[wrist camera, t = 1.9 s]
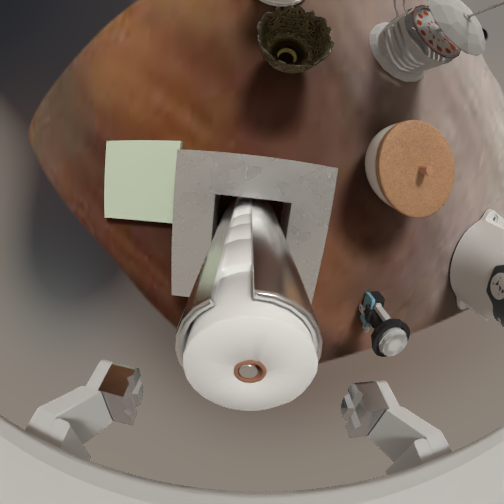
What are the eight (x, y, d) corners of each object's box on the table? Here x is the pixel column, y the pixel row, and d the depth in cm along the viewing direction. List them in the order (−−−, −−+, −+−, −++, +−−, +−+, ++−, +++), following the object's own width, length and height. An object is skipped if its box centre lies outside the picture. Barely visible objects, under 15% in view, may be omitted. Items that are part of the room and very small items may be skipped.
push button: (377, 325, 40) (402, 365, 30) (347, 327, 40) (368, 371, 30) (386, 288, 37) (418, 325, 28) (354, 289, 37) (382, 329, 28)
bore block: (323, 165, 31) (338, 168, 26) (301, 285, 37) (310, 308, 31) (190, 150, 31) (177, 149, 25) (182, 273, 36) (171, 294, 31)
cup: (317, 86, 28) (337, 69, 21) (256, 85, 28) (258, 64, 21) (313, 35, 25) (330, 8, 18) (254, 33, 25) (255, 3, 18)
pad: (182, 141, 30) (180, 141, 29) (177, 221, 34) (175, 223, 33) (110, 141, 30) (106, 141, 29) (108, 215, 33) (104, 217, 32)
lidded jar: (351, 120, 29) (385, 111, 21) (420, 129, 29) (463, 128, 21) (351, 204, 33) (384, 222, 24) (418, 205, 33) (459, 222, 24)
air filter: (283, 205, 33) (357, 328, 10) (265, 252, 35) (289, 425, 12) (232, 187, 32) (186, 280, 9) (216, 236, 34) (159, 396, 11)
